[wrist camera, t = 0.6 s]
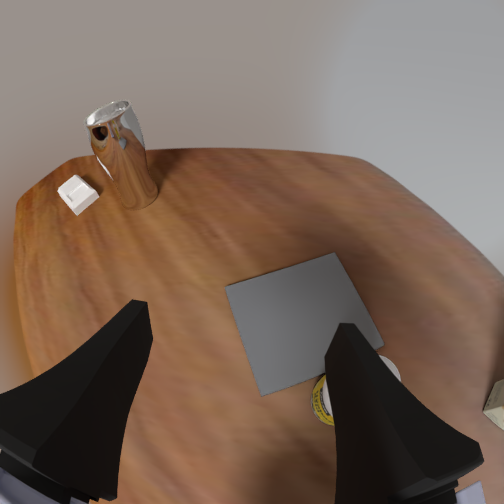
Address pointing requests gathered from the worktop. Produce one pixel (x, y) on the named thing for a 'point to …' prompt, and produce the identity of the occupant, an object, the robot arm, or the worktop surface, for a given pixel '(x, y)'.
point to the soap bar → (77, 194)
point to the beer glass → (122, 152)
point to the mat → (296, 320)
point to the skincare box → (496, 404)
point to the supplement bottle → (322, 401)
